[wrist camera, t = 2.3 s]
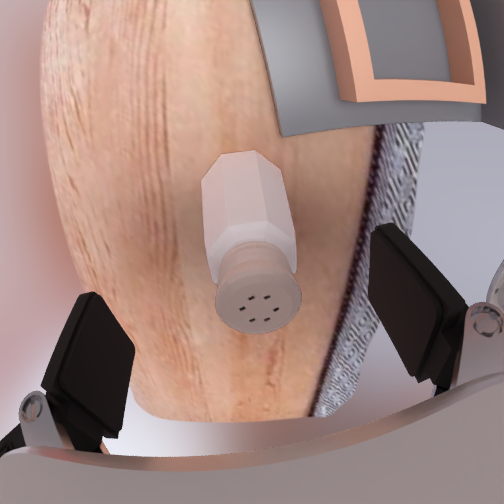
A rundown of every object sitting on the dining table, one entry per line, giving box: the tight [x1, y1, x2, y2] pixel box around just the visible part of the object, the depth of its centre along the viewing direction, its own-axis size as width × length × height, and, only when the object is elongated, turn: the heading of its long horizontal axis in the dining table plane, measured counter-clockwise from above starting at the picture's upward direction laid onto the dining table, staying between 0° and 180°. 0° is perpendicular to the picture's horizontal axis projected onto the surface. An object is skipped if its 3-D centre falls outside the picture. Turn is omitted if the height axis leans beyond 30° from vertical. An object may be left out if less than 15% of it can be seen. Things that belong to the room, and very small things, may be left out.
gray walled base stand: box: [250, 0, 504, 137], centre depth 9 cm, size 18×14×7 cm
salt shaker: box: [201, 150, 302, 334], centre depth 14 cm, size 5×5×11 cm
